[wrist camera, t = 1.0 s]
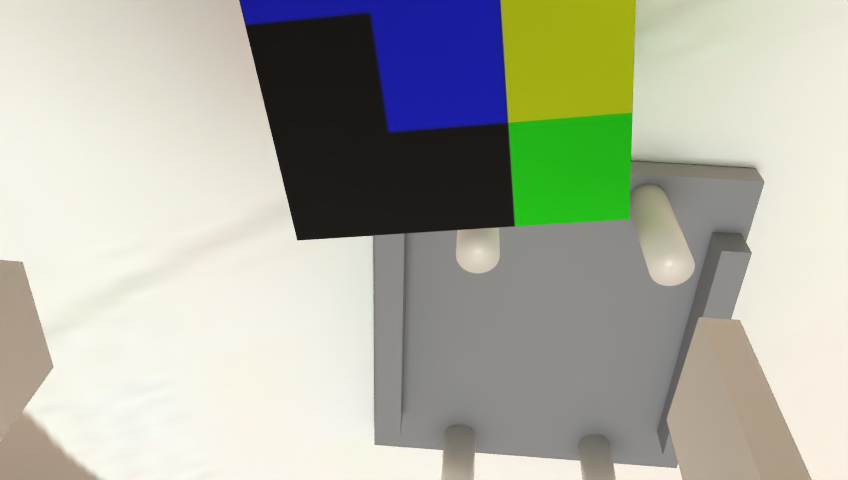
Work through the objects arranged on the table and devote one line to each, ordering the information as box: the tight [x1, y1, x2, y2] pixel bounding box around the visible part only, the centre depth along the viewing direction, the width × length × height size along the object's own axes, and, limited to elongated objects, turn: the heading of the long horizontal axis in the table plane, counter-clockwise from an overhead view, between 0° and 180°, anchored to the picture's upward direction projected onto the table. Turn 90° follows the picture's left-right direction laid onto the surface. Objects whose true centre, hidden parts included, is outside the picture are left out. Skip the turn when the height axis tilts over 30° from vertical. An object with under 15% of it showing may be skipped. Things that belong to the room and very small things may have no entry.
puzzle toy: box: [239, 0, 636, 240], centre depth 24 cm, size 10×10×10 cm
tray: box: [373, 161, 764, 480], centre depth 34 cm, size 17×16×6 cm
